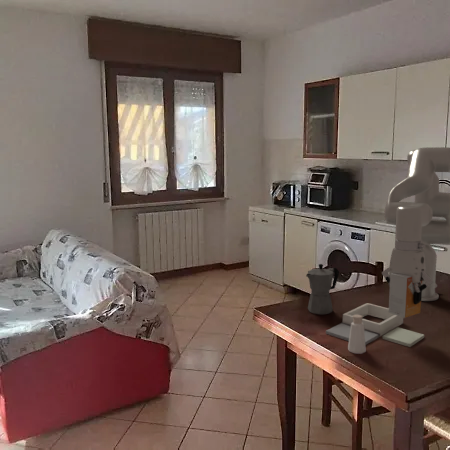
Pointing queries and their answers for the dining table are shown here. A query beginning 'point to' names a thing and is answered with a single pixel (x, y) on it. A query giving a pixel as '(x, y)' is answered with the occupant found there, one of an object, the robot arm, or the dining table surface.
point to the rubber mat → (403, 337)
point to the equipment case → (367, 322)
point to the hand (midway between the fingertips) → (405, 300)
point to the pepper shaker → (357, 336)
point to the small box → (402, 296)
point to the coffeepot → (321, 289)
